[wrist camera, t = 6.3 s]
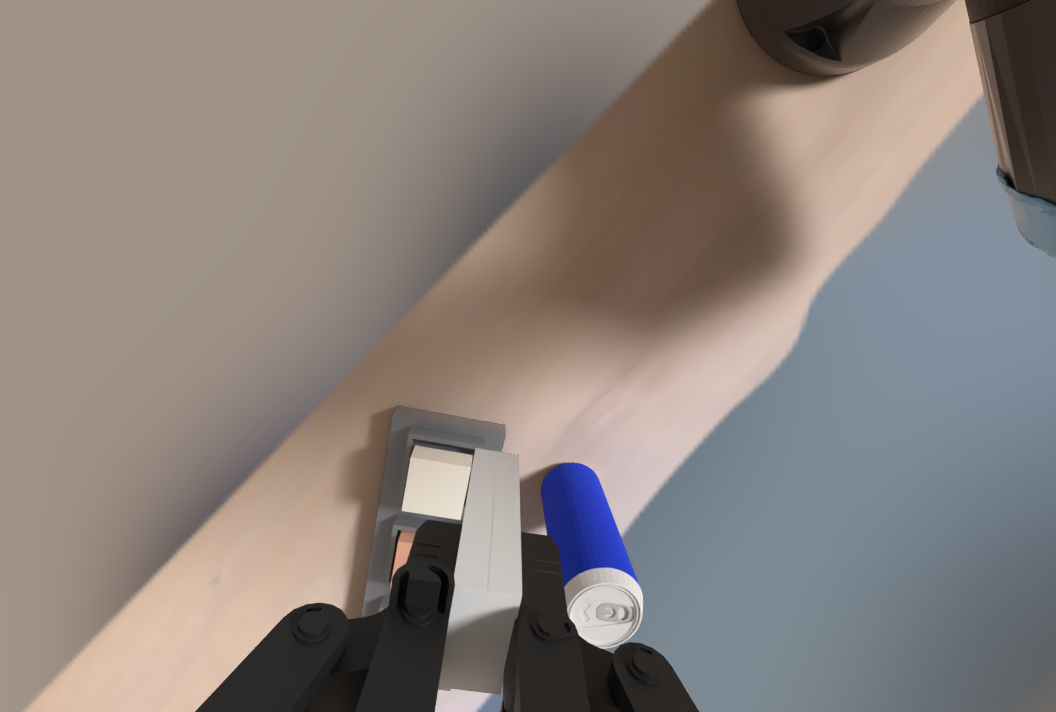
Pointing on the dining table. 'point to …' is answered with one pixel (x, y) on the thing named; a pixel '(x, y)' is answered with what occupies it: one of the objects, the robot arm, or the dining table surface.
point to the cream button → (437, 482)
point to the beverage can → (591, 557)
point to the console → (391, 520)
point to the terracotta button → (403, 549)
